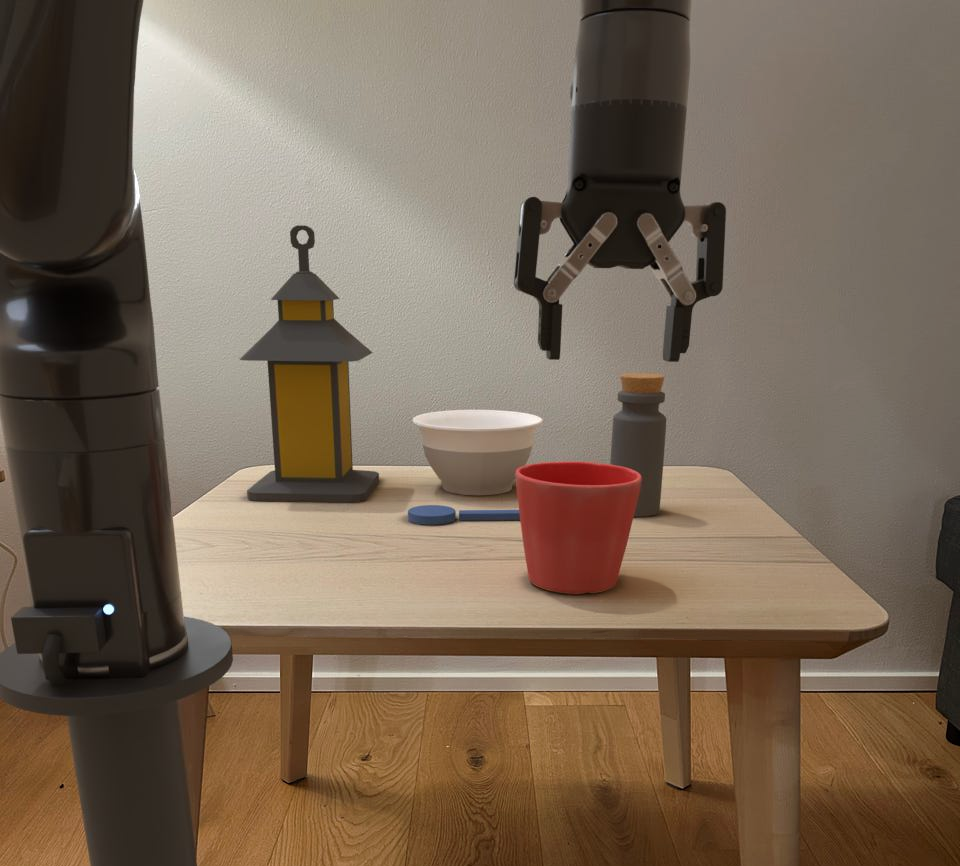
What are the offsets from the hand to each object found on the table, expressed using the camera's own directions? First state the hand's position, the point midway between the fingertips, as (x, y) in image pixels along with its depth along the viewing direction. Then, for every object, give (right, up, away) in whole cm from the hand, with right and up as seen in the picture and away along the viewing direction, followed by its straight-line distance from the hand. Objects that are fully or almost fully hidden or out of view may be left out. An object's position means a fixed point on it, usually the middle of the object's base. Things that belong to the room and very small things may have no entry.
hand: (612, 360), depth 69 cm
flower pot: (-1, -15, +16) cm, 22 cm away
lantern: (-30, -2, +51) cm, 59 cm away
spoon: (-9, -7, +37) cm, 39 cm away
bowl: (-10, -1, +52) cm, 53 cm away
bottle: (+8, -6, +41) cm, 42 cm away
